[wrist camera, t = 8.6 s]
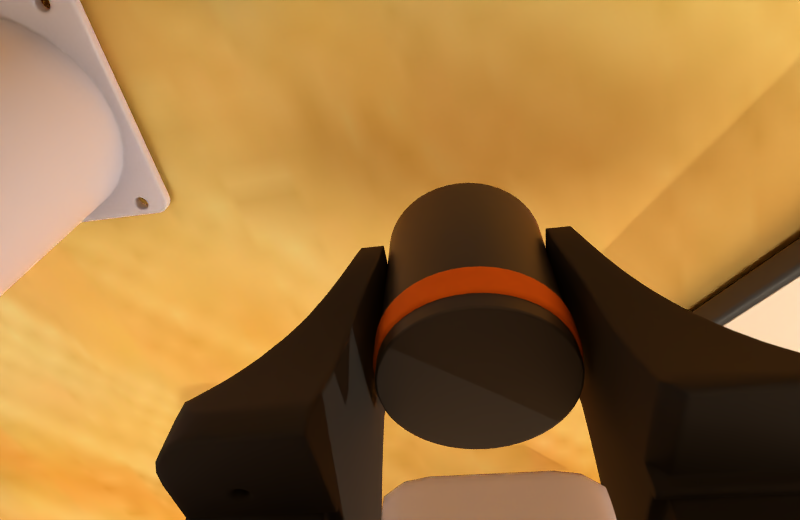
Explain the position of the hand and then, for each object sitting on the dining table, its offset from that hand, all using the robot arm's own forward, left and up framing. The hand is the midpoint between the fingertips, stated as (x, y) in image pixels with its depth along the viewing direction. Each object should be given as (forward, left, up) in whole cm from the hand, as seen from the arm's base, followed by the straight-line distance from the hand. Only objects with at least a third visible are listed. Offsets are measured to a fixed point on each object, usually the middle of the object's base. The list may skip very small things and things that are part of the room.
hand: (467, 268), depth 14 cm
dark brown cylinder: (0, 0, -1) cm, 1 cm away
